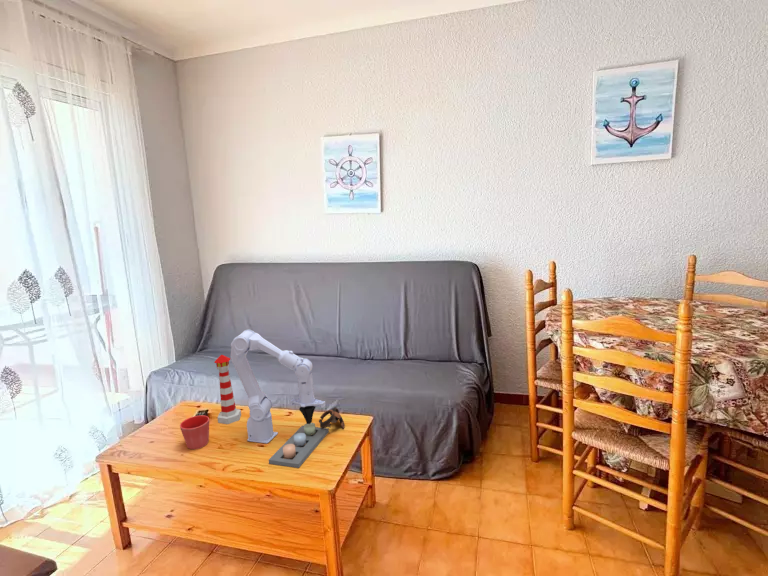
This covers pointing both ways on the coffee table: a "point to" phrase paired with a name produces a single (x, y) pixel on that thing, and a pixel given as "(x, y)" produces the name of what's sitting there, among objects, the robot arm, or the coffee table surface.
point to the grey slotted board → (299, 448)
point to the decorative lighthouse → (226, 393)
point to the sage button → (309, 429)
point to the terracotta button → (289, 451)
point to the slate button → (299, 439)
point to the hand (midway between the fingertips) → (309, 422)
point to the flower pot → (195, 431)
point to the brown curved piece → (331, 418)
